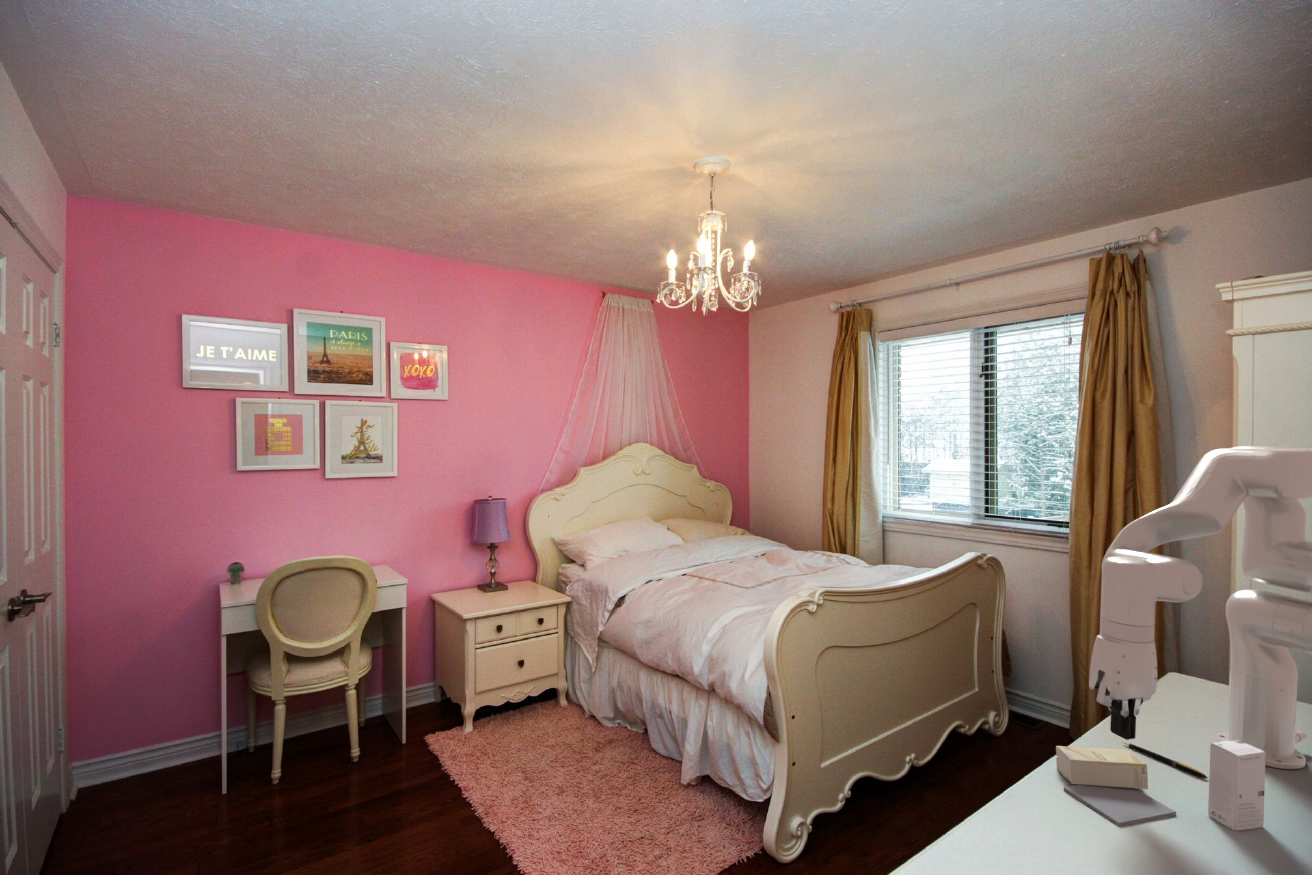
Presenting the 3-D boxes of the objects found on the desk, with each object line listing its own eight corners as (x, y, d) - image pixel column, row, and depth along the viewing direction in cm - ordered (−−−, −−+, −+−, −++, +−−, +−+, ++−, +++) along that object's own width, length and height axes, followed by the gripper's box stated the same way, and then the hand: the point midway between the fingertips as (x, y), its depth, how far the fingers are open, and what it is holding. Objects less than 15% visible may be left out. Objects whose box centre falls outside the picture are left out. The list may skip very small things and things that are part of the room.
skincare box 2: (1235, 832, 100) (1239, 756, 99) (1205, 814, 104) (1208, 742, 104) (1265, 827, 101) (1269, 752, 101) (1234, 810, 105) (1237, 738, 105)
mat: (1117, 780, 114) (1117, 777, 114) (1175, 814, 104) (1176, 811, 104) (1063, 789, 110) (1063, 787, 110) (1119, 825, 101) (1119, 822, 101)
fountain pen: (1118, 744, 127) (1118, 737, 127) (1121, 743, 127) (1122, 736, 127) (1206, 782, 114) (1206, 774, 114) (1209, 780, 114) (1210, 772, 114)
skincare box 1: (1148, 764, 109) (1071, 758, 111) (1149, 790, 109) (1072, 785, 111) (1127, 748, 116) (1054, 744, 118) (1128, 774, 115) (1055, 768, 117)
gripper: (1138, 620, 115) (1134, 720, 115) (1072, 626, 111) (1068, 729, 111) (1182, 634, 107) (1178, 741, 108) (1113, 641, 103) (1109, 751, 104)
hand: (1122, 735), depth 110 cm, fingers closed
